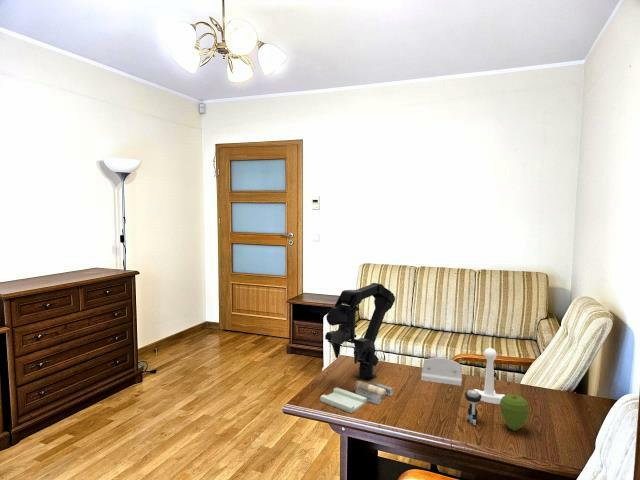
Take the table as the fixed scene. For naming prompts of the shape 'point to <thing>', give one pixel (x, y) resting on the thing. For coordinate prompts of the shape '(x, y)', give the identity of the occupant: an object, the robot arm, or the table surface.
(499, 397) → the joystick
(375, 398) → the steel guide
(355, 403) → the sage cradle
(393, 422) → the table surface
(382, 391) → the maple axle
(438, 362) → the gray wall bracket
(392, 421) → the table surface
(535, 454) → the table surface
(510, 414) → the apple
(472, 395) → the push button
